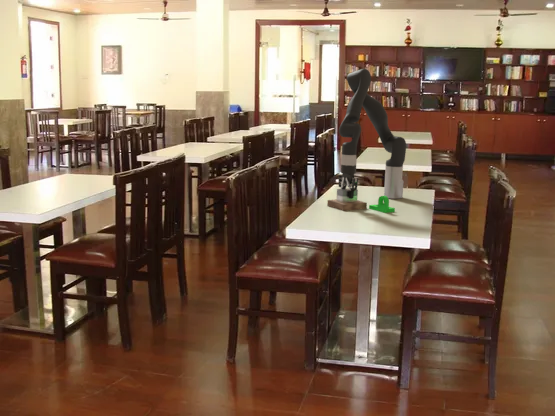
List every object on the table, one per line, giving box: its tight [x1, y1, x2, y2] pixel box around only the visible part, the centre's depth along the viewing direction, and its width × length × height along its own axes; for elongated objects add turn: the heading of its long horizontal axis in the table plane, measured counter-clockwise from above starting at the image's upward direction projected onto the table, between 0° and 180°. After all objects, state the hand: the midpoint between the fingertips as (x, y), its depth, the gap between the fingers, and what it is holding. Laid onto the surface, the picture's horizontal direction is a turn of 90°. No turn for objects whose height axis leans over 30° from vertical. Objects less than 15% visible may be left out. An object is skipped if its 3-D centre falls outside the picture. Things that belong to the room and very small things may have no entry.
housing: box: [336, 187, 359, 203], centre depth 313 cm, size 5×9×6 cm, turn 118°
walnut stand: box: [326, 198, 368, 212], centre depth 313 cm, size 14×14×3 cm
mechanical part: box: [368, 195, 396, 214], centre depth 307 cm, size 12×6×8 cm, turn 32°
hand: (347, 197), depth 313 cm, fingers open, 6 cm apart
